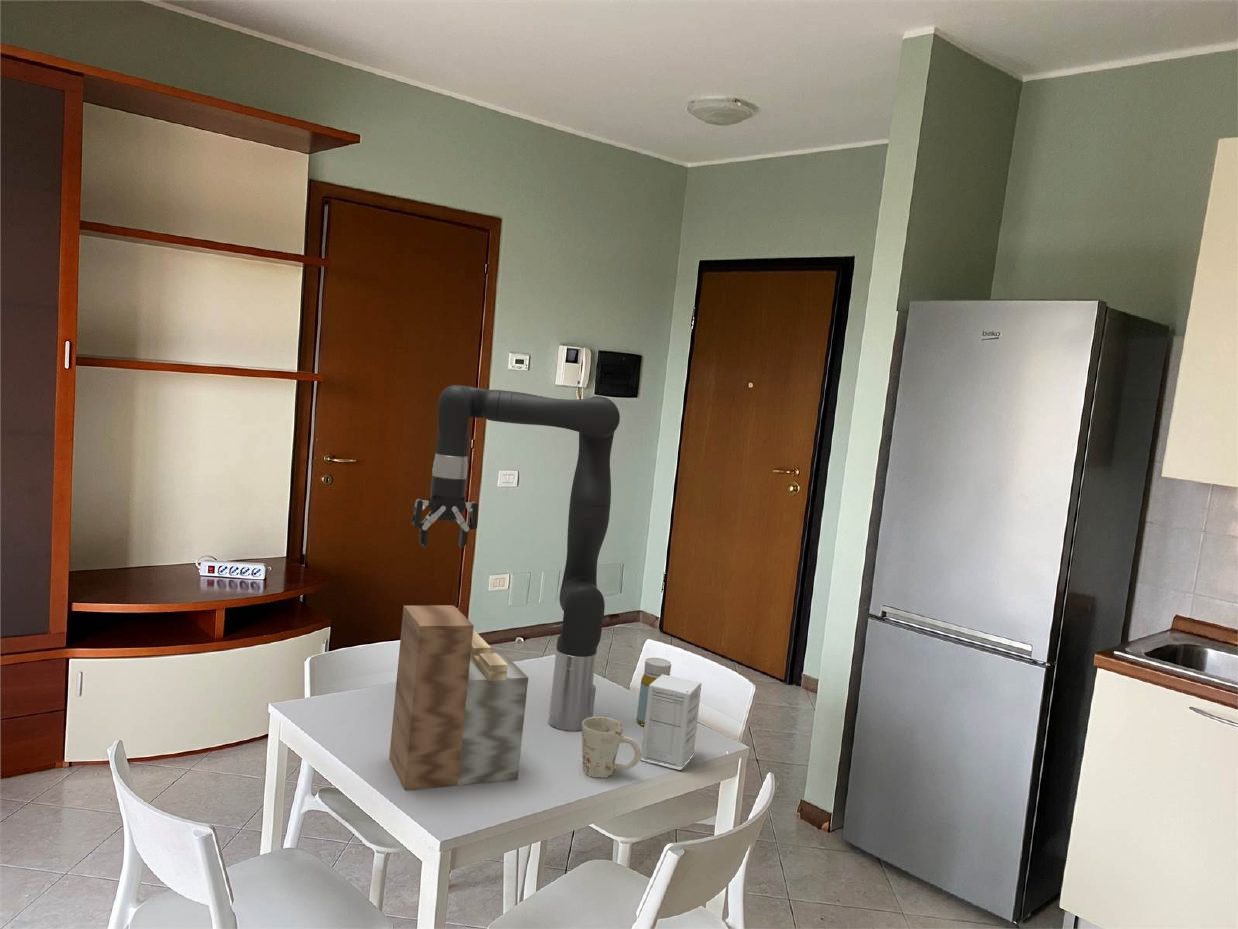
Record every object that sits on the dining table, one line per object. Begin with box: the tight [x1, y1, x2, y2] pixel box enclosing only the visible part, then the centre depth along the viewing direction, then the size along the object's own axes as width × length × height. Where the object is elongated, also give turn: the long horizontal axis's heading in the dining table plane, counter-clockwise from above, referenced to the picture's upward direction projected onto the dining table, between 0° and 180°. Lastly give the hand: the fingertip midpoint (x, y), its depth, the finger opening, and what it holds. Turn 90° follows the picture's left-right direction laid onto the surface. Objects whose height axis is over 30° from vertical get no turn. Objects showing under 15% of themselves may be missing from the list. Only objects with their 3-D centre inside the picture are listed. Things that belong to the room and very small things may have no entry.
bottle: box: [636, 657, 672, 725], centre depth 213 cm, size 7×7×15 cm
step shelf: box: [388, 604, 529, 791], centre depth 176 cm, size 22×14×31 cm, turn 116°
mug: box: [581, 716, 642, 778], centre depth 183 cm, size 8×13×10 cm, turn 82°
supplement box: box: [640, 674, 702, 767], centre depth 193 cm, size 10×9×17 cm
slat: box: [470, 629, 508, 681], centre depth 181 cm, size 4×24×3 cm, turn 26°
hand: (442, 546), depth 202 cm, fingers open, 8 cm apart
